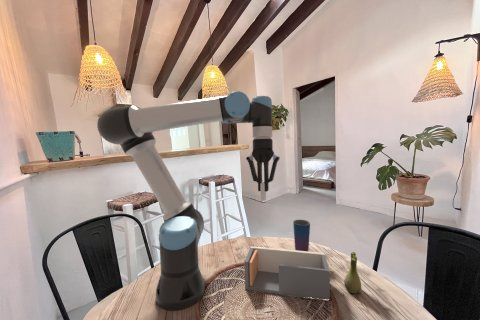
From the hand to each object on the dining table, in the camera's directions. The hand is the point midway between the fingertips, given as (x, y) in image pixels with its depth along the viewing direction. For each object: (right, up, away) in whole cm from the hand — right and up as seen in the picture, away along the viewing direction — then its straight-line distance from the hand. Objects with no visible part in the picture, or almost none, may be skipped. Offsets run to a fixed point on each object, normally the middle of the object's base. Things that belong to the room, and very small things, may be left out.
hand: (263, 199), depth 82 cm
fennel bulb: (+27, -27, -14) cm, 41 cm away
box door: (-4, -26, -8) cm, 27 cm away
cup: (+17, -26, +7) cm, 32 cm away
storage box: (+6, -27, -10) cm, 30 cm away
